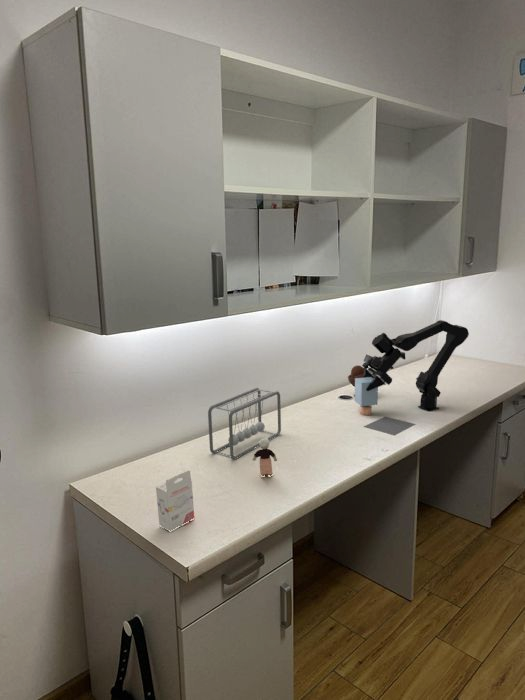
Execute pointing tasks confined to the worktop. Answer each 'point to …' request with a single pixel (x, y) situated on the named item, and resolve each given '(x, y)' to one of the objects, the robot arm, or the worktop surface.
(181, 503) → the ink cartridge box
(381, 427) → the mat
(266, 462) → the grandmother figurine
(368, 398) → the cover
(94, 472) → the worktop surface
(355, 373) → the ice cream bowl
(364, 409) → the bowl
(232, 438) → the newton's cradle
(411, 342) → the robot arm
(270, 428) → the worktop surface
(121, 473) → the worktop surface
